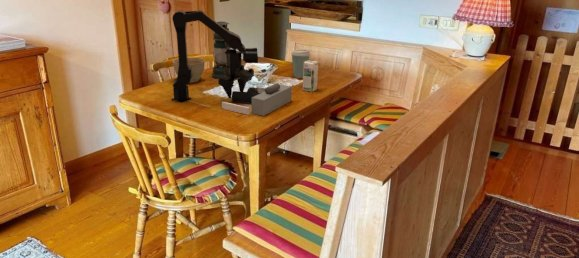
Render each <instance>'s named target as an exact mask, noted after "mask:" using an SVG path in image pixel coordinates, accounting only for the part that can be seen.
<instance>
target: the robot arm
mask: <svg viewBox="0 0 579 258" xmlns="http://www.w3.org/2000/svg"><path fill="white" fill-rule="evenodd" d="M171 19H172V23H173V26H174V29H175V32H176V39H177V40H176V41H177V57H178V58H177V59H179V68H178V75H177V77H176V78H175V79H174V81H173V83H172V90H173V98H171V100H172V101H175V102H178V103H184V102H187V101H189V100H191V99H192V97H190V94H189V86H188V85H189V84H190V83H189V82H190V80H191V79H192V76H193V74H192V67H189V65H188V58H189V57H188V48H187V47H188V45H187V27H188V23H192V22H193V23H194V22H198V21H199V22H201V24H203V25H204V26H206V27H207V28H208V29H210V30H211V31H212V32H214V33H216V34H218V35H219V36H220V37H221V38H222V39H223V40H224V41H225V42H226V43H227V44H228V46H229V47H230V48H231V49H229V48H227V49H226V50H225V54H229V65H227V64H226V65H227V68H229V74H227V76H229V77H230V78H229V77H222V78H220V79H217V82H218V83H217V84H218V86H219V85H220V86H221V87H222V88H223V90H224V92H225V93H226V96H227V97H228V99H231V100H232V92H233V91H232V90H233V89H232V88H233V87H234V86H235V85H234V83H235V81H237V84H238V91H239V92H245V88H246V84H247V83H248V82H249V81H252V79H253V77H255V71H254V68H249V69H246V68H245V66H244V64H243V63H242V62H244V63H245V64H258V63H259V54H258V48H257V47H252V48H251V47H246V46H245V45H244V44H243V43H242V38H241V37H240V35H239V34H237V33H235V32H233V31H230V29H229V30H227V29H225V28H224V27H222V26H221V25H220V24H218V23H217V21H216V20H214V19H213V18H212V17H211V16H209V15H208V14H207V13H205V11H203V10H201V9H199V10H189V11H184V10H182V9H179V10H177V11H175V13H174V14H172V18H171Z"/></svg>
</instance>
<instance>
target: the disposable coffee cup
mask: <svg viewBox="0 0 579 258" xmlns="http://www.w3.org/2000/svg"><path fill="white" fill-rule="evenodd" d="M310 56H311V52H310V50H309V49H294V50H292V51H291V61H292V71H293V72H292V73H293V76H294V78H297V79H303V71H304V62H305V61H308V60H309V61H310Z"/></svg>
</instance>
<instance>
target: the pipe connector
mask: <svg viewBox="0 0 579 258" xmlns="http://www.w3.org/2000/svg"><path fill="white" fill-rule="evenodd" d="M259 94H261V93H258V88H257V87H254V86H252V87H248V88H247V91H243V92H240V90H238V91H236V90H233V91H232V95H231V102H232V103H242V104H252V97H254V96H256V95H259Z"/></svg>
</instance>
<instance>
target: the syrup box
mask: <svg viewBox="0 0 579 258" xmlns="http://www.w3.org/2000/svg"><path fill="white" fill-rule="evenodd" d="M318 75H319V61H315V60H314V61H313V60H310V59H309V60H308V61H305V62H304V71H303V78H302V91H306V92H307V91H308V92H311V93H312V92H315V91H317V89H318Z"/></svg>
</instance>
